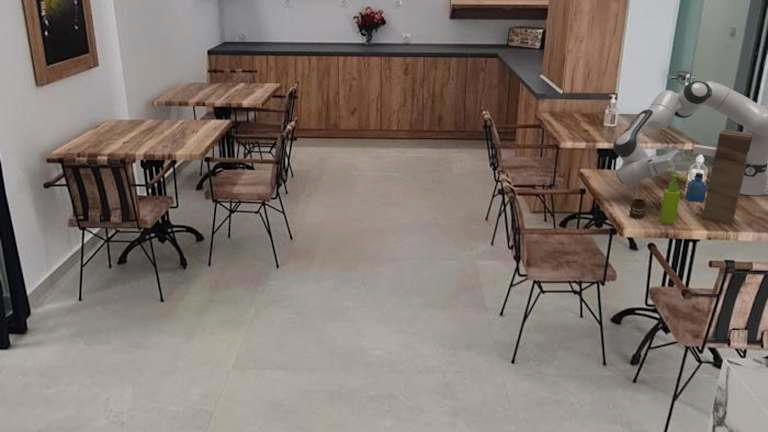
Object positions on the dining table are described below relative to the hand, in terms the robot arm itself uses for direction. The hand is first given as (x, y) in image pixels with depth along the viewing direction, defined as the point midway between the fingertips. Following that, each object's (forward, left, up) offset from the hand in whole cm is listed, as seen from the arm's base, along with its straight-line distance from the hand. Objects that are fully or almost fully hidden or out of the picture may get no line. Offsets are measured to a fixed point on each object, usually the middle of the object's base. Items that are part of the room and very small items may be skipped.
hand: (687, 153), depth 270 cm
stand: (-1, +16, -25) cm, 30 cm away
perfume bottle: (-21, +4, -26) cm, 33 cm away
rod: (-1, +12, +1) cm, 12 cm away
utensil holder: (+16, -12, -26) cm, 33 cm away
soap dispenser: (+15, 0, -26) cm, 30 cm away
